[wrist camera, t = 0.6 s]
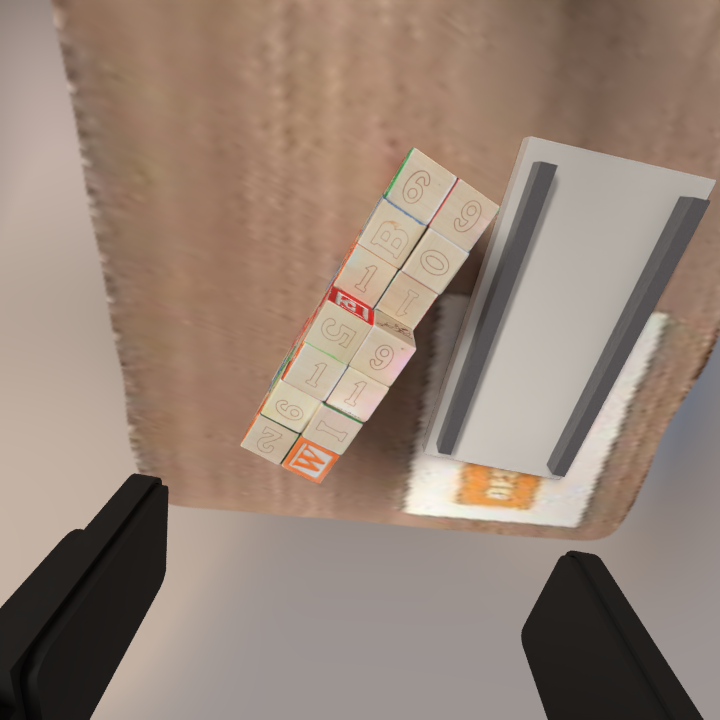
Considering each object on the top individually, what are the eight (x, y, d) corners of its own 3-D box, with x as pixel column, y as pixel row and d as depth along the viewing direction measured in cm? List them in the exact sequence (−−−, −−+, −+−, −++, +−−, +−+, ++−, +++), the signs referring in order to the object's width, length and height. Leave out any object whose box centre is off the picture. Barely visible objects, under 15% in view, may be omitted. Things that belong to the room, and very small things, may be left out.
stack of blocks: (404, 152, 31) (421, 139, 19) (470, 199, 32) (523, 212, 20) (277, 369, 38) (236, 448, 27) (334, 400, 40) (318, 488, 28)
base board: (523, 137, 30) (538, 134, 27) (701, 180, 30) (733, 180, 28) (422, 444, 41) (425, 464, 38) (553, 469, 42) (565, 490, 39)
